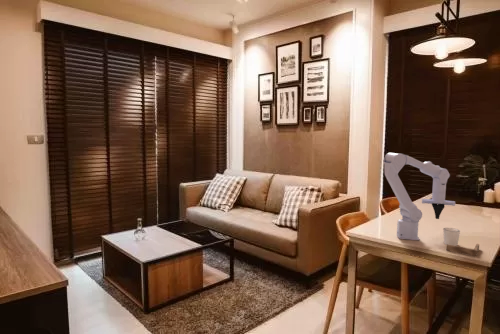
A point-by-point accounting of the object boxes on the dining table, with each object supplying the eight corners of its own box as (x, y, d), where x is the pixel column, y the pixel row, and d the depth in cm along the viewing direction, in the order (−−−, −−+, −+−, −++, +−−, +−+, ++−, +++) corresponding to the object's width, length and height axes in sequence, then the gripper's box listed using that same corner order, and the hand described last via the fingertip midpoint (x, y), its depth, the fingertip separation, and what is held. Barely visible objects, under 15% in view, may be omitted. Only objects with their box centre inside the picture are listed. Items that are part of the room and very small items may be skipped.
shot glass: (457, 247, 154) (458, 232, 153) (440, 244, 159) (441, 229, 158) (460, 243, 159) (461, 229, 158) (444, 240, 164) (445, 226, 163)
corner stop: (493, 256, 143) (494, 250, 143) (459, 257, 142) (459, 251, 142) (477, 248, 152) (478, 243, 152) (445, 249, 151) (445, 244, 151)
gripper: (423, 192, 167) (421, 218, 168) (457, 194, 161) (455, 222, 162) (422, 189, 173) (420, 215, 174) (454, 191, 167) (452, 218, 169)
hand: (437, 218), depth 169 cm, fingers closed
